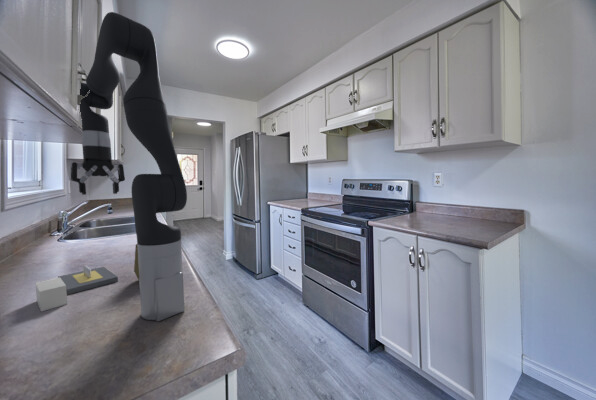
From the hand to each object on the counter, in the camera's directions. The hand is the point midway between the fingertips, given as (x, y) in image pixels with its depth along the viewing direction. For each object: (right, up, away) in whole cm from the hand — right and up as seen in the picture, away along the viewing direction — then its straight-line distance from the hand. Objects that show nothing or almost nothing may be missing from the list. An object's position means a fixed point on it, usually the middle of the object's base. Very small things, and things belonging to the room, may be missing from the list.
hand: (100, 194), depth 85 cm
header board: (0, -28, -5) cm, 29 cm away
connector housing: (+3, -29, -19) cm, 35 cm away
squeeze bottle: (+19, -28, -4) cm, 34 cm away
